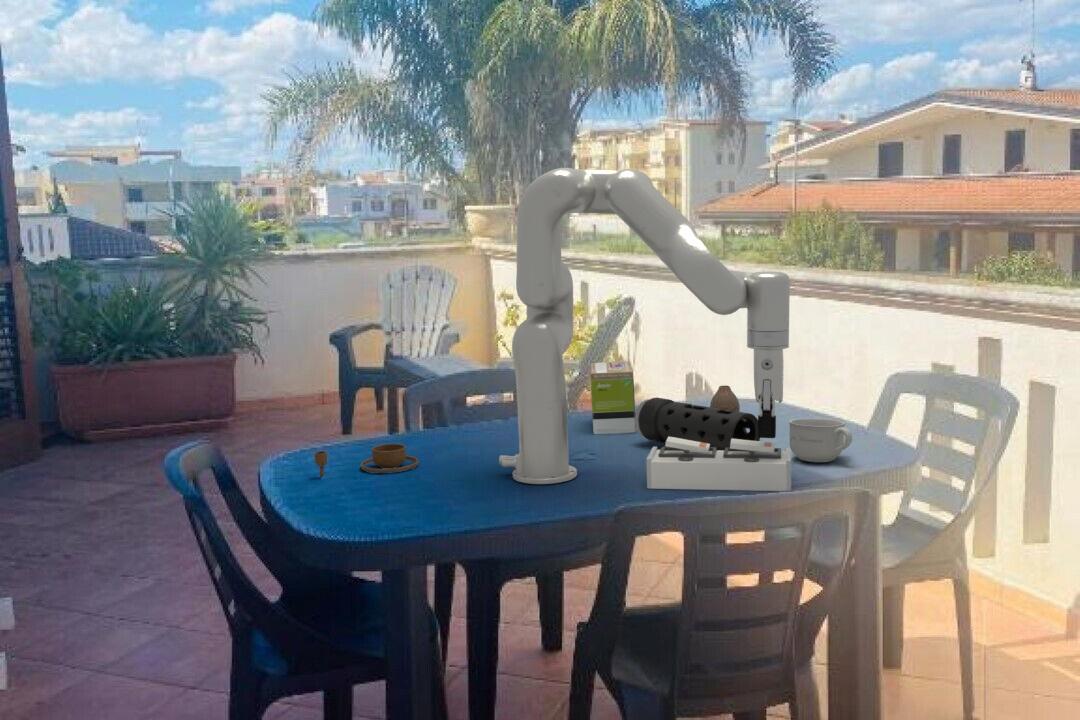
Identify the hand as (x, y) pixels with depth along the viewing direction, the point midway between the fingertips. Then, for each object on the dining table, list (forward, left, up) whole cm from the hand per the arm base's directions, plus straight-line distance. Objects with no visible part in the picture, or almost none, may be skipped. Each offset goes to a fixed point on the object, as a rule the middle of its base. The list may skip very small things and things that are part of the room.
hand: (766, 436), depth 200 cm
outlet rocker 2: (-3, 0, -3) cm, 4 cm away
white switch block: (-9, -2, -8) cm, 12 cm away
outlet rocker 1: (-15, 0, -3) cm, 15 cm away
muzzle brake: (-15, +23, -9) cm, 29 cm away
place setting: (-81, +5, -9) cm, 82 cm away
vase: (-11, +52, -9) cm, 54 cm away
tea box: (-36, +46, -9) cm, 60 cm away
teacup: (+10, +16, -9) cm, 21 cm away
